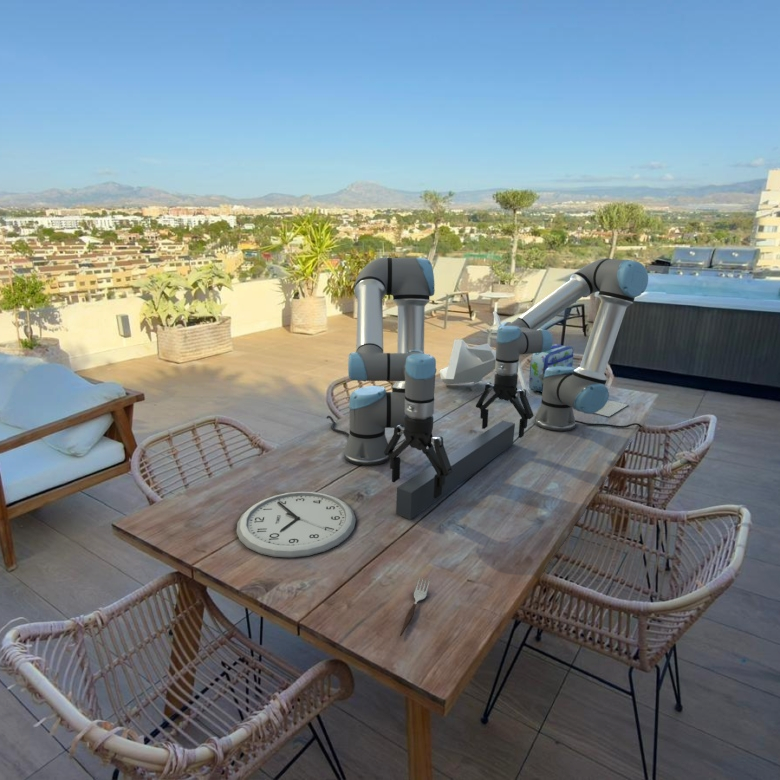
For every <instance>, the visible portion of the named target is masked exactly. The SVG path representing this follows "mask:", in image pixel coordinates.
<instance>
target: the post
mask: <svg viewBox="0 0 780 780" xmlns="http://www.w3.org/2000/svg"><path fill="white" fill-rule="evenodd" d="M515 427H516V423H515V422H511V421H506V420H502V421H500V422H498V423H496V424H495V425H493V426H492V427H490V428H489V429H486V430H485V431H484V432H482V433H481V434H479V435H478V436H476V437H474V438H473V439H471V440H469V441H468V442H466V443H465V444H463V445H462V446H460V447H458V448H457V449H455V450H453V451H452V452H451V453H448V454H447V456H448V459H449V462H450V465H451V468H452V470H453V472H452V473H451V474H449V475H448V476H445V484H444V485H443V486H442V494H441V495H440V496H439V497H437V498H434V480H435V475H436V474H437V473H436V471H435V469H434V468H433V466H432V465H430V466H428V467H427V468H424V470H422V471H420V472H419V473H417V474H416V475H414V476H412V477H411V478H409V479H407V480H406V481H405V482H403V483H402V484H400V485H398V486H397V487H396V501H395V503H396V504H395V506H396V509H395V510H396V511H395V514H396V515H398V516H400V517H402V518H405V519H407V520H410V521H411V520H413V519H414V518H415V517H416V516H417V515H419V514H420V513H422V512H423V511H425V510H426V509H427V508H428V507H431V505H433V504H434V503H436V502H437V501H438V500H440V499H441V498H442V497H444V496H445V495H446V494H447V493H449V492H451V491H452V490H453V489H455V488H456V487H457V486H459V485H460V484H462V483H463V482H464V481H465V480H467V479H468V478H469V477H471V476H472V475H474V474H475V473H477V471H479V470H480V469H482V468H483V467H485V466H486V465H487V464H488V463H490V462H491V461H492V460H494V459H495V458H496V457H498V456H500V455H501V454H503V452H505V451H506V450H507V449H509V448H511V446H513V445H514V440H515V429H516V428H515Z"/></svg>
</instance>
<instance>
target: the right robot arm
mask: <svg viewBox="0 0 780 780" xmlns="http://www.w3.org/2000/svg"><path fill="white" fill-rule="evenodd" d="M648 284H649V273H648V271H647V269H646V266H644V265H643V263H641V262H639V261H636V260H632V259H618V258H609V257H608V258H600V259H596V260H594V261H593V262H590V263H588V264H586V265H584V266H582V267H581V268H580V269H578V270H577V271H576V272H575V273H573V274H572V275H570V277H569V280H568V281H567V282H565V283H564V284H562V285H561V286H560V287H558V288H557V289H556V290H554V291H553V292H551V293H550V294H549V295H547V296H546V297H545V298H543V299H542V300H541V301H539V302H538V303H537V304H535V305H533V306H532V307H531V308H529V309H528V310H527V311H526V312H524V313H523V314H521V315H520V316H518V317H517V318H515V319H514V320H512V321H505V322H501V325H500V326H499V327H498V328H497V329H496V340H495V342H496V343H495V344H496V349H495V350H496V363H495V369H494V371H495V373H494V383H493V384H492V383H491V382H488V383H486V384H485V386H484V389H483V392H482V394H481V395H480V397H479V399H478V401H477V403H476V404H475V408H476V409H479V410H480V420H481V419H482V421H481V422H482V423H481V429H482V430H485V429H486V428H488V426H489V409H488V407H489V406H490V405H492V404H493V403H494V402H495V401H496V400H497V399H498V400H500V401H501V400H503V401H506V402H508V401H509V403H511V404H512V406H513V407H514V408H515V410H516V411H517V413H518V414H519V416H520V419H519V425H518V438H519V439H521V438H523V437H524V436H525V430H526V428H527V427H528V420H531V419H533V418H534V424H535V425H536V426H537V427H539V428H542V429H544V430H549V431H556V432H567V431H572V430H574V429H575V428H576V423H577V424H582V425H585V426H600V427H601V426H604V427H611V428H619V429H620V428H622V429H625V428H628V427H629V428H630V427H632V426H638V427H639V428H643V426H642V425H641V424H640V423H637V422H634V423H630V424H626V425H618V424H617V425H616V424H610V423H609V424H608V423H591V422H584V421H580V420H577V419H576V418H575V417H576V416H575V413H574V409H575V410H576V411H577V412H581V413H584V414H588V415H590V414H591V415H593V414H596V413H595V412H597V411H598V410H601V409H602V408H603V407H604V406H605V404H606V403H607V401H608V400H609V398H610V392H609V389H608V387H607V386H606V383H607V380H608V378H607V376H606V375H605V372H606V369H607V367H608V363H609V360H610V358H611V355H612V352H613V348H614V346H615V343H616V340H617V337H618V333H619V331H620V328H621V325H622V322H623V319H624V317H625V313H626V310H627V308H629V306H631V305H633V304H634V302H635V299H636V298H638V297H640V296H641V295H642V294H643V293H645V291H646V289H647V287H648ZM594 293H598V295H597V296H598V298H599V300H600V303H599V306H598V309H597V312H596V316H595V318H594V321H593V325H592V328H591V330H590V334H589V337H588V340H587V343H586V346H585V349H584V352H583V355H582V358H581V361H580V364H579V366H578V367H577V368H576V367H573V366H572V367H565V366H556V367H549V368H547V369H546V370H545V374H544V381H543V391H542V392H541V393H542V394H541V402H540V405H539V407H538V410H537V411H536V413H535V415H534V413H533V410H532V407H531V404H530V402H529V399H528V396H526V390H525V389H519V388H518V380H519V376H518V364H519V362H520V355H530V354H533V353H541V352H546V351H549V350H550V349H551V347H552V345H554V343H553V341H554V338H553V335H552V333H551V332H550V330H548V329H540V328H542V327H543V326H544V325H546V324H547V323H548V322H550V321H552V320H553V319H554V318H556V317H557V316H559V315H560V314H561V313H562V312H564V311H565V310H566V309H569V308H570V306H572V305H574V303H576V302H577V301H580V299H581V298H587V297H589V296H591V295H592V294H594ZM492 390H493V392H494V393H493V395H492V396H491V397H490V398H488V395H489V394H490V392H491V391H492ZM516 395H517V396H518V397H519V398H518V397H517V396H516ZM487 398H488V400H487V401H486V399H487ZM519 400H520V401H519ZM485 401H486V402H485ZM484 402H485V403H484Z"/></svg>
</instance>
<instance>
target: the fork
mask: <svg viewBox="0 0 780 780" xmlns="http://www.w3.org/2000/svg"><path fill="white" fill-rule="evenodd" d="M420 580H421V577H419V578H418V581H417V585H416V587H415V590H414V592H413V598H414V600H415V601H414V603H413V604H412V606H411V607H410V609H409V611H408V612H407V613H406V616H405V619H404V622H403V624H402V625H403V626H402V628H401V631H400V634H399V636H400V637H402V635H403V634H404V632H405V631H406V629H407V627H408V626H409V624H410V622H411V621H412V619H413V617H414V614H415V610H416V607H417V604H418V602H420V601H423V600H425V599H426V598H427V596H428V591H429V586H430V582H431V581H430V580H431V579H428V583H427V578H426V579H425V580H424V578H422V580H421V583H420ZM423 582H424V584H423ZM426 583H427V586H426ZM419 584H420V585H419ZM422 587H423V588H422Z"/></svg>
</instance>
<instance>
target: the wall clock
mask: <svg viewBox="0 0 780 780" xmlns="http://www.w3.org/2000/svg"><path fill="white" fill-rule="evenodd" d="M356 522H357V518H356V515H355V512H354V510H353V509H352V508H351V507H350V505H349V504H348V503H346V502H345V501H343V500H341V499H339V497H335V496H332V495H329V494H327V493H321V492H315V491H293V492H285V493H280V494H275V495H273V496H270V497H268V498H264V499H262V500H260V501H259V502H257V503H255V504H253V505H251V506H250V507H249V508H247V510H246V511H245V512H244V513H242V514H241V516H240V518H239V519H238V521H237V523H236V535H237V537H238V540H239V541H240V542H241V544H242V545H244V546H245V547H246V548H248V549H249V550H251V551H253V552H255V553H257V554H261V555H265V556H269V557H273V558H300V557H309V556H312V555H316V554H320V553H323V552H327V551H328V550H331V549H333V548H335V547H337V546H339V545H340V544H342V543H343V542H344V541H345V540H347V539H348V538H349V537H350V536H351V534H352V533H353V531H354V530H355V526H356Z"/></svg>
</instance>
